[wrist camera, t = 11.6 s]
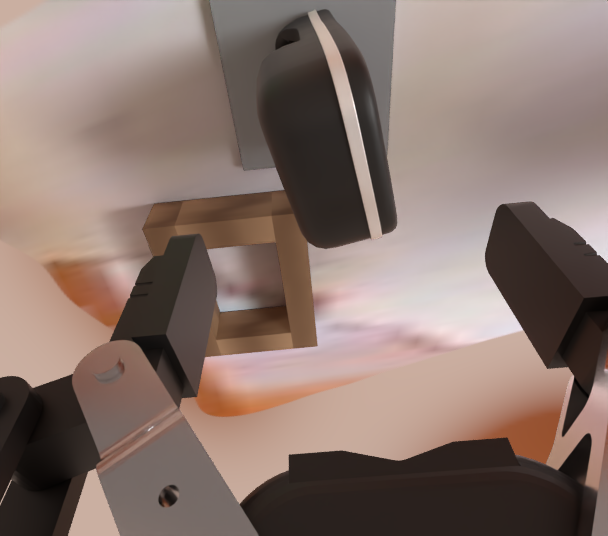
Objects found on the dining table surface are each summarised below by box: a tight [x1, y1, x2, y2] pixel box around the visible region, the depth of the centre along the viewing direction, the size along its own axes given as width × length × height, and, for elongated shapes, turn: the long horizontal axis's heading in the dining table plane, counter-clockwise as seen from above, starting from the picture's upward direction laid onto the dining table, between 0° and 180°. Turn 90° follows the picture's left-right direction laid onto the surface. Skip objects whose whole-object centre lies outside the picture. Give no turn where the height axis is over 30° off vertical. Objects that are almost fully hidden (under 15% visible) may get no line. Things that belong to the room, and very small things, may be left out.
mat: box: [209, 0, 396, 171], centre depth 22 cm, size 9×9×1 cm
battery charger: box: [256, 9, 397, 249], centre depth 17 cm, size 7×4×11 cm, turn 17°
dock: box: [142, 190, 317, 357], centre depth 29 cm, size 10×13×3 cm
